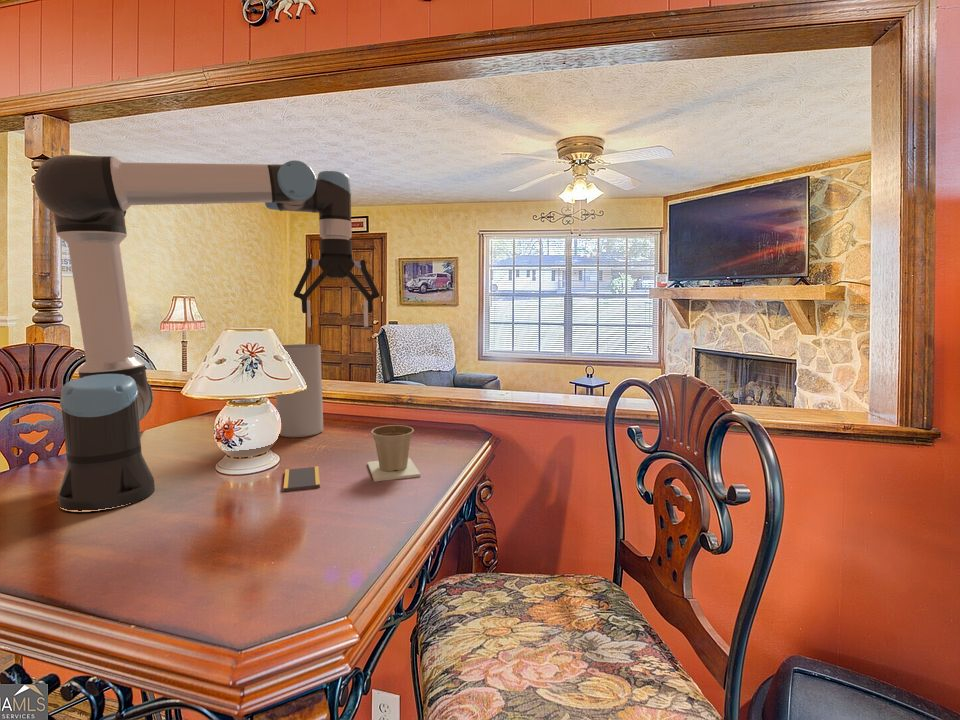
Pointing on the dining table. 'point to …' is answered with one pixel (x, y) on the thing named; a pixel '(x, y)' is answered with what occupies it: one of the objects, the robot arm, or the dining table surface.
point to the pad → (392, 472)
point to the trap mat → (301, 478)
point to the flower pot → (392, 446)
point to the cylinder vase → (303, 394)
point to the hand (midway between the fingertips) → (338, 326)
